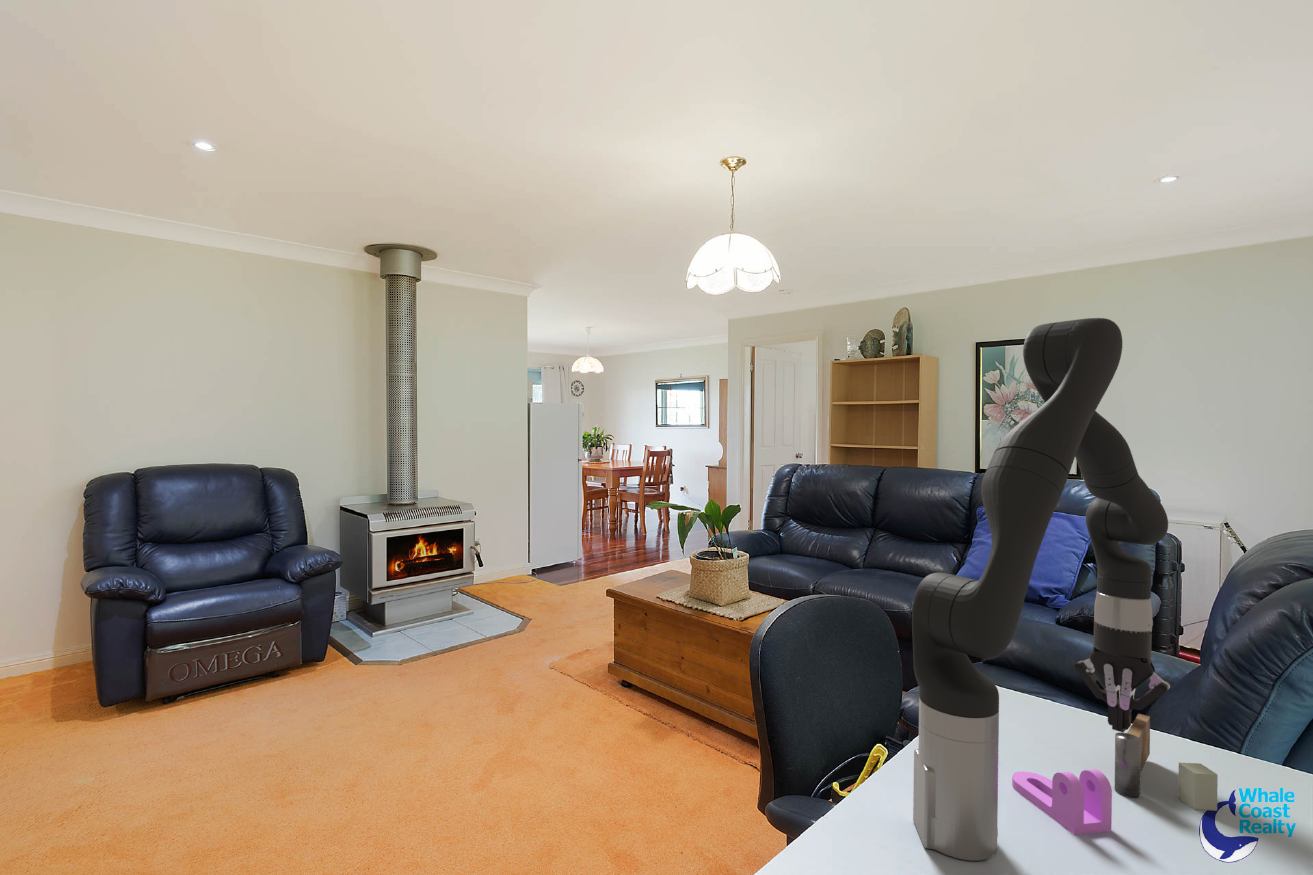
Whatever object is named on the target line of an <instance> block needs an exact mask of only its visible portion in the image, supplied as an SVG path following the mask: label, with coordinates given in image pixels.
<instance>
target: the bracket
mask: <svg viewBox="0 0 1313 875" xmlns="http://www.w3.org/2000/svg"><path fill="white" fill-rule="evenodd" d="M1011 786H1012V788H1013V790H1014V791H1016V792H1017V793H1018V794H1020V795H1021V796H1022V797H1023V798H1025V799H1026V800H1027V801H1029V802H1030V803H1032V805H1034V806H1036V807H1037V808H1038V809H1040V810H1041V811H1042V812H1044V813H1045V814H1046V815H1047V816H1049V817H1050V818H1052V819H1053V820H1054V821H1055V822H1057V823H1058V824H1059V825H1061V826H1062V827H1064V828H1065V829H1066V830H1067V831H1069V832H1070V833H1071V834H1073V835H1082V834H1084V835H1085V834H1090V833H1091V834H1092V833H1093V834H1094V833H1104V832H1110V831H1112V820H1113V819H1112V815H1113V814H1112V813H1113V810H1112V807H1113V806H1112V805H1113V791H1112V790H1113V789H1112V785H1111V782H1110V781H1109V778H1107V776H1106V775H1105V774H1104V773H1103V772H1102V771H1100V770H1098V769H1085V770H1081V772H1080V773H1079V778H1078V776H1076V775H1075V774H1074V773H1073V772H1071V771H1062V772H1060V771H1059V772H1056V773H1054V775H1053V776H1052V779H1051V778H1048V777H1046V776H1044V775H1042V774H1039V773H1036V772H1031V771H1016V772H1014V773H1013V774H1012V775H1011Z"/></svg>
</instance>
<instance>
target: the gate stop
mask: <svg viewBox="0 0 1313 875" xmlns="http://www.w3.org/2000/svg"><path fill="white" fill-rule="evenodd" d="M1218 778H1219V776H1218V773H1216V772H1214V771H1213V770H1211V769H1210V768H1208V766H1205V765H1204V764H1202V763H1199V762H1198V763H1194V762H1193V763H1192V762H1178V780H1177V781H1178V784H1177V785H1178V786H1177V787H1178V788H1177V789H1178V791H1177V794H1178V796H1177V798H1179V800H1181V801H1182V802H1184V803H1185V804H1186V805H1188V806H1189V807H1190V808H1192V809H1193V810H1198V811H1218Z"/></svg>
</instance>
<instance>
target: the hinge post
mask: <svg viewBox="0 0 1313 875" xmlns="http://www.w3.org/2000/svg"><path fill="white" fill-rule="evenodd" d="M1114 735H1115V736H1114V739H1115V740H1114V791H1115V792H1116V793H1117V794H1118V795H1121V796H1123V797H1127V798H1130V799H1138V798H1140V797H1141V773H1140V766H1141V739H1140V738H1138V737H1137V736H1134V735H1132V734H1128V733H1127V732H1116V733H1115V734H1114Z"/></svg>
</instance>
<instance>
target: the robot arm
mask: <svg viewBox="0 0 1313 875" xmlns="http://www.w3.org/2000/svg"><path fill="white" fill-rule="evenodd" d="M1023 342H1024V343H1023V347H1022V356H1023V363H1024V366H1025V369H1026V372H1027V374H1028V377H1029V378H1030V380H1031V382H1032V384H1033V386H1034V388H1035V389H1036V391H1037V392H1038V394H1039V396H1040V397H1041V399H1042V401H1043V404H1042V405H1041V406H1039V407H1038V408H1037V409H1036V410H1034V411H1033V412H1032V413H1031V414H1029V415H1027V417H1025V418H1024V419H1023V420H1021V421H1020V422H1019V423H1017V424H1016V425H1015V426H1014V427H1013V428H1012V429H1010V430H1009V431H1008V432H1007V434H1006V435H1004V436H1003V438H1001V439H1000V441H999V443H998V444H997V446H996V448H995V449H994V452H993V454H992V456H991V459H990V461H989V464H988V466H987V467H986V470H985V473H984V474H983V477H982V482H981V484H980V485H981V486H980V490H981V491H980V492H981V500H982V504H983V508H984V512H985V516H986V520H987V522H988V526H989V529H990V530H989V531H990V536H991V544H990V545H991V546H990V551H989V555H988V556H989V557H988V559H987V563H986V566H985V568H984V570H983V571H982V572H983V573H982V574H981V576H980V578H979V579H973V578H969V577H965V576H960V575H957V574H951V573H945V572H934V573H930V574H928V575H926V576H925V577H923V579H922V580H920V583H918V586H917V587H916V589H915V590H916V591H915V593H914V596H913V600H912V606H911V609H912V610H911V633H912V635H911V636H912V652H913V654H912V655H913V658H912V659H913V672H914V677H915V680H916V682H917V685H918V696H919V697H918V699H919V700H918V749H914V751H913V793H912V794H913V798H912V800H913V801H912V802H913V807H912V811H913V812H912V813H913V814H912V820H913V823H914V826H915V828H916V831H917V833H918V836H919V838H920V840H921V843H922V845H923V847H924V848H925V849H928V850H929V849H932V850H935V851H938V852H940V853H942V854H944V855H945V856H948V857H951V858H955V859H959V860H962V861H963V860H964V861H984V860H988V859H990V858H992V857H994V855H996V853H997V851H998V837H999V834H998V833H999V832H998V831H999V830H998V815H999V813H998V812H999V810H998V809H999V808H998V806H999V798H998V797H999V746H1000V745H999V736H1000V729H999V728H1000V693H999V689H998V687H997V685H996V684H995V683H994V681H992V680H991V678H989V677H988V676H987V675H986V674H984V673H983V672H982V671H981V670H979V668H977V667H976V665H974V663H973V662H972V660H970V657H969V656H971V657H974V658H977V659H981V660H984V661H985V660H986V661H988V660H989V661H991V660H994V659H997V658H998V657H1000V656H1001V655H1002V654H1003V653H1004V652H1005V651H1006V649H1008V647H1009V645H1010V643H1011V641H1012V640H1013V637H1014V635H1015V632H1016V630H1017V626H1018V624H1019V621H1020V618H1021V613H1022V611H1023V610H1022V609H1023V607H1024V603H1025V598H1026V596H1027V592H1028V588H1029V586H1030V585H1029V584H1030V580H1031V577H1032V573H1033V570H1034V567H1035V562H1036V560H1037V556H1038V554H1039V550H1040V548H1041V545H1042V542H1043V539H1044V537H1045V534H1046V532H1047V529H1048V527H1049V524H1050V522H1051V520H1052V517H1053V514H1054V513H1055V510H1056V508H1057V505H1058V503H1059V502H1060V499H1061V496H1062V494H1063V491H1064V488H1065V485H1066V484H1067V481H1068V478H1069V475H1070V473H1071V469H1072V467H1073V463H1074V461H1075V459H1076V463H1077V466H1078V468H1079V470H1080V473H1081V476H1082V479H1083V482H1084V483H1085V486H1086V488H1087V491H1088V493H1090V495H1092V496H1094V497H1095V499H1093V500H1092V501H1091V502H1090V503H1089V505H1088V506H1087V509H1086V513H1085V524H1086V528H1087V532H1088V536H1089V538H1090V542H1091V545H1092V549H1093V552H1094V558H1095V562H1096V566H1097V572H1096V575H1097V577H1096V595H1095V601H1094V616H1093V618H1094V619H1093V643H1092V645H1093V649H1092V651H1091V652H1090V654H1089V658H1087V659H1085V660H1084V659H1082V660H1079V661H1077V662H1076V663H1075V664H1074V668H1075V670H1076V672H1077V673H1078V674H1079V675H1080V677H1081V678H1082V680H1083V681H1084V683H1085V685H1086V686H1087V687H1088V689H1089V690H1090V691H1091V692H1092V694H1093V695H1094V697H1095V698H1096V699H1098V700H1101V701H1104V702H1105V703H1106V704H1107V723H1108V725H1109V726H1111V729H1112V730H1113V731H1117V732H1118V733H1125V731H1126V730H1127V731H1129V729H1130V727H1131V726H1132V711H1133V710H1138V711H1142V710H1143V709H1144V708H1146V707H1147V706H1149V704H1152V703H1153V702H1154V701H1155V700H1157V699H1159V697H1161V696H1162V695H1164V694H1165V693H1167V691H1169V689H1170V688H1171V687H1172V684H1171V682H1169V680H1164V679H1162V677H1160V675H1158V674H1157V673H1156V672H1155V671H1156V668H1155V666H1154V664H1153V662H1152V637H1153V636H1152V635H1153V632H1152V631H1153V626H1154V620H1153V608H1152V600H1151V599H1152V598H1151V596H1152V566H1151V565H1150V563H1149V562H1147V561H1146V560H1143V559H1141V558H1138V557H1136V556H1133V555H1131V554H1128V553H1126V551H1124V549H1123V548H1122V547H1121V544H1120V542H1121V543H1129V544H1137V545H1143V546H1148V545H1155V544H1158V543H1159V542H1161V541H1162V540H1163V539H1164V538H1165V537H1166V535H1167V533H1168V530H1169V520H1168V515H1167V512H1166V510H1165V508H1164V506H1163V504H1162V503H1161V501H1160V500H1159V498H1157V496H1156V495H1155V494H1154V493H1153V491H1152V490H1151V489H1150V487H1149V486H1148V485H1147V483H1146V482H1145V481H1144V480H1143V479H1142V477H1141V476H1140V475H1139V472H1138V469H1137V467H1136V466H1137V465H1136V463H1135V460H1134V457H1133V454H1132V451H1131V448H1130V446H1129V444H1128V442H1127V440H1126V439H1125V437H1124V436H1123V434H1121V432H1120V431H1119V430H1118V429H1117V428H1116V427H1115V426H1114V425H1113V424H1111V423H1110V422H1109V421H1108V420H1107V419H1106V418H1104V416H1102V414H1100V413H1099V412H1098V411H1096V410H1097V408H1098V407H1099V405H1100V403H1101V401H1102V399H1103V398H1104V396H1105V394H1106V392H1107V390H1108V388H1109V387H1110V385H1111V382H1112V381H1113V378H1114V376H1115V374H1116V372H1117V369H1118V367H1119V364H1120V362H1121V358H1122V352H1123V336H1122V331H1121V329H1120V327H1119V325H1118V324H1117V323H1116V322H1115V321H1113V320H1111V319H1109V318H1104V317H1091V318H1090V317H1088V318H1079V319H1072V320H1071V319H1070V320H1065V321H1056V322H1049V323H1043V324H1040V325H1037V326H1035V327H1033V328H1032V329H1030V331H1029V332H1028V333H1027V335H1026V337H1025V339H1024V341H1023ZM1095 670H1096V671H1097V673H1098V674H1099V675H1100V677H1101V679H1102V680H1103V681H1104V683H1105V685H1103V683H1102V682H1101V680H1100V679H1099V678H1098V676H1097V675H1096V674H1095ZM1148 680H1150V682H1149V683H1148V687H1149V690H1148V691H1146V693H1144V694H1142V696H1140V697H1139V698H1135V692H1136V689H1138V688H1139V687H1140V686H1142V685H1143V684H1144V683H1145V682H1146V681H1148Z"/></svg>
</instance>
